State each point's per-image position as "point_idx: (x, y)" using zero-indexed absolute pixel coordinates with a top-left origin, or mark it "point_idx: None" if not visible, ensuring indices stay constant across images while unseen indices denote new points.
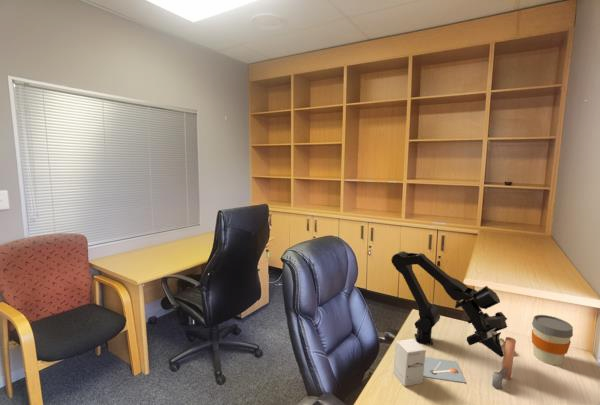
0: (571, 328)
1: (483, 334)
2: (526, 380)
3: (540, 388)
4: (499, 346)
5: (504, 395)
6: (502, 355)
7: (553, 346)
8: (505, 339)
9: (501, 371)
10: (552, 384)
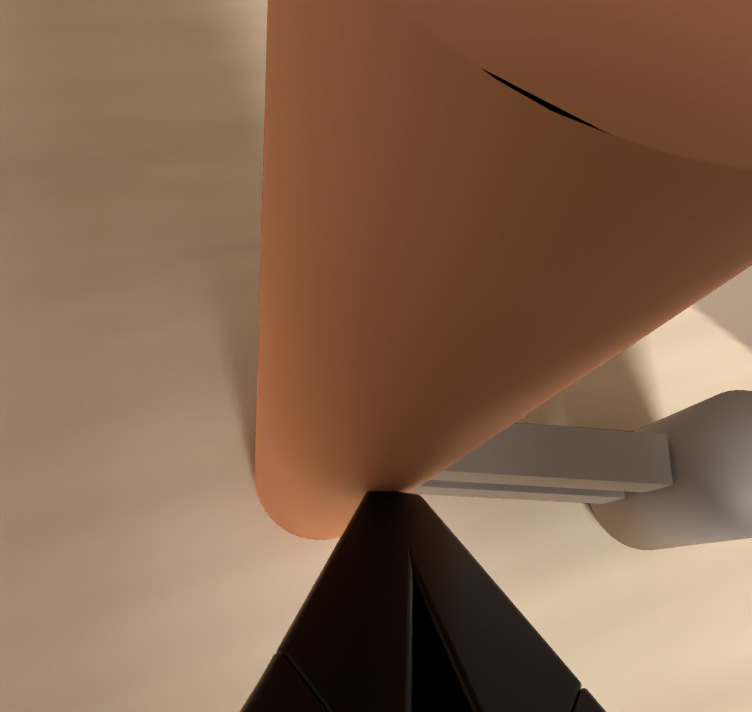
0: None
1: None
2: (168, 263)
3: (219, 127)
4: (399, 654)
5: (703, 379)
6: (423, 506)
7: None
8: (739, 248)
9: (588, 459)
10: (9, 40)
